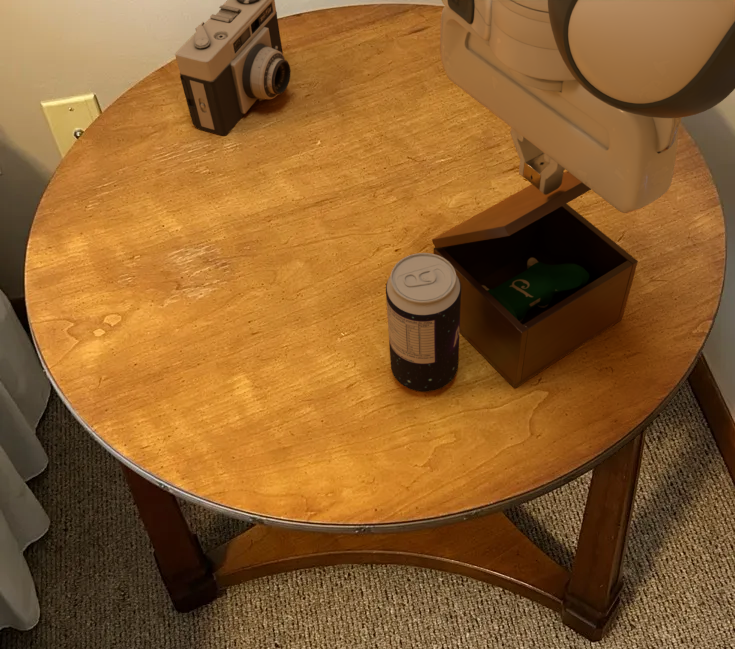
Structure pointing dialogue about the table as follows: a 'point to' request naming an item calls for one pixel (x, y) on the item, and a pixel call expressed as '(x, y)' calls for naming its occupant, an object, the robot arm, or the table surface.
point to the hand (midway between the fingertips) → (539, 181)
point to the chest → (540, 325)
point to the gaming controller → (537, 286)
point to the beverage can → (423, 321)
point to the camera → (232, 64)
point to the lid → (512, 213)
